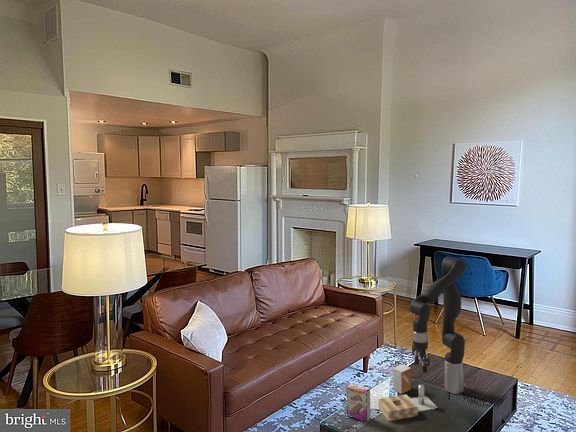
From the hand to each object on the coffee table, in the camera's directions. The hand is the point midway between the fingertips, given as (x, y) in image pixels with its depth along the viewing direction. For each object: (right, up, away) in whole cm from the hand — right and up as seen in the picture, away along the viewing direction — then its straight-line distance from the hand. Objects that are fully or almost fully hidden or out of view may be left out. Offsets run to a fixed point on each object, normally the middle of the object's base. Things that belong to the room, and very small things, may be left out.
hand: (420, 368), depth 227 cm
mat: (+1, -20, +2) cm, 20 cm away
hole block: (-13, -21, -4) cm, 25 cm away
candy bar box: (-34, -23, -7) cm, 41 cm away
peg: (+1, -19, +2) cm, 20 cm away
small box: (-5, -18, +17) cm, 26 cm away
